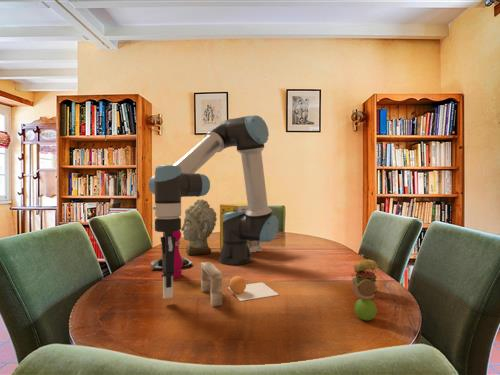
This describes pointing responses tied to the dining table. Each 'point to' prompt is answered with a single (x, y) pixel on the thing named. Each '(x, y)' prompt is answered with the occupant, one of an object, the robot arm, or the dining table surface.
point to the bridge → (211, 282)
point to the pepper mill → (177, 256)
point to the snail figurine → (364, 299)
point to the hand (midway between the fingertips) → (168, 296)
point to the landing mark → (255, 292)
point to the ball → (237, 284)
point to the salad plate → (158, 264)
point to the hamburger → (364, 274)
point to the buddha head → (198, 227)
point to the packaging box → (228, 208)
